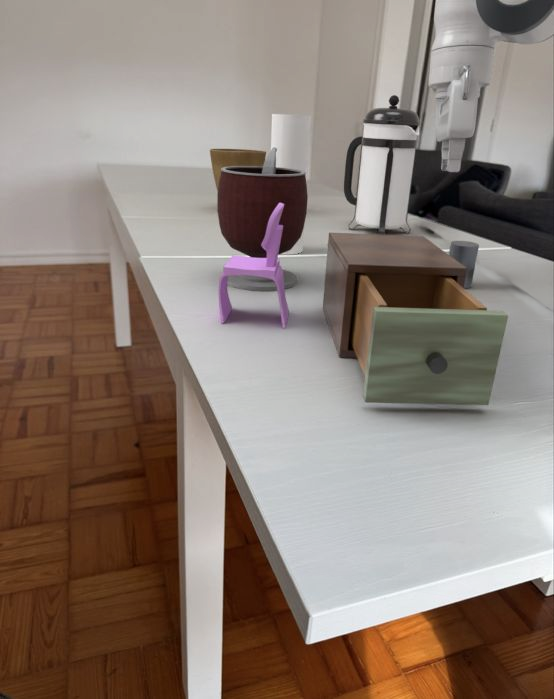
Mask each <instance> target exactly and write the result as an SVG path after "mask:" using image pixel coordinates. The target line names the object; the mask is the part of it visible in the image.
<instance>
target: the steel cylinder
mask: <svg viewBox="0 0 554 699" xmlns="http://www.w3.org/2000/svg"><path fill="white" fill-rule="evenodd" d="M449 245H450V246H449V251H448V255H450V256H451V257H452V258H454V259H455V260H456V261H458V262H459V263H460V264H462V265H463V266H465V267H466V268H467V272H466V279H465V284H464V289H465V290H466V289H470V288H472V284H473V279H474V273H475V268H476V265H477V258H478V254H479V247H480V244H479V243H477V242H473V241H468V240H452V241H450V244H449Z"/></svg>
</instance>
